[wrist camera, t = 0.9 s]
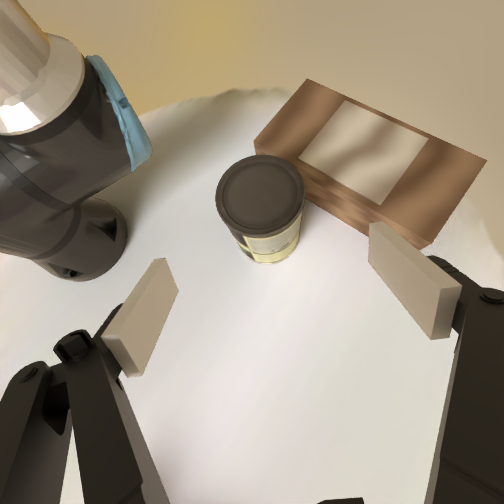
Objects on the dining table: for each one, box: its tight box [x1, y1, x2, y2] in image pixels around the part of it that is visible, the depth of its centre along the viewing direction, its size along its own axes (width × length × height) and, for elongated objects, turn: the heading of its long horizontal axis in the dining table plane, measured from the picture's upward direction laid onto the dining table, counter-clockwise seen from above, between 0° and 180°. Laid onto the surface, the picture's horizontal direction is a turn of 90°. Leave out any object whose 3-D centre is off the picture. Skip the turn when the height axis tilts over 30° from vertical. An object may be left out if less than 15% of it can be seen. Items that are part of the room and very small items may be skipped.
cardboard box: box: [254, 79, 487, 250], centre depth 39 cm, size 28×14×8 cm, turn 52°
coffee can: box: [215, 155, 306, 264], centre depth 35 cm, size 10×10×14 cm
